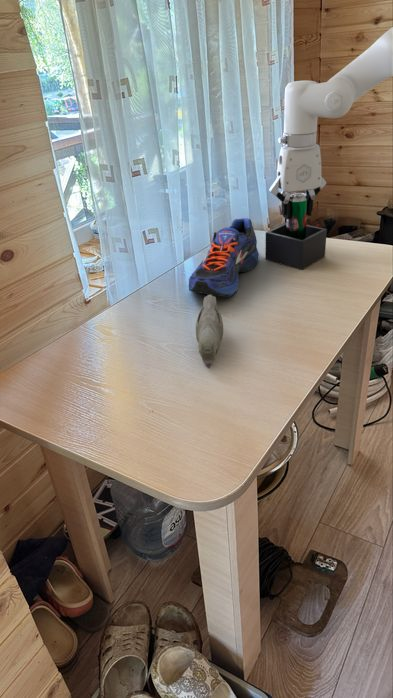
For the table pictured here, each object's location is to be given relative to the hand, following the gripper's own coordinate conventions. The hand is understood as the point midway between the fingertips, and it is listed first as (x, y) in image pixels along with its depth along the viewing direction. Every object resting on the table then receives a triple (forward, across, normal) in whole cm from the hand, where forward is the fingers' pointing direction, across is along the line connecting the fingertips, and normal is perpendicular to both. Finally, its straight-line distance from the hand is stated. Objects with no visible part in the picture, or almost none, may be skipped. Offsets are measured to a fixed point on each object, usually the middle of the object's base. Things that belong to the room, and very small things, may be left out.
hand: (296, 215), depth 130 cm
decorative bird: (+12, -34, -33) cm, 49 cm away
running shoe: (+12, -22, -5) cm, 25 cm away
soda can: (+7, 0, 0) cm, 7 cm away
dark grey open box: (+12, 0, 0) cm, 12 cm away
